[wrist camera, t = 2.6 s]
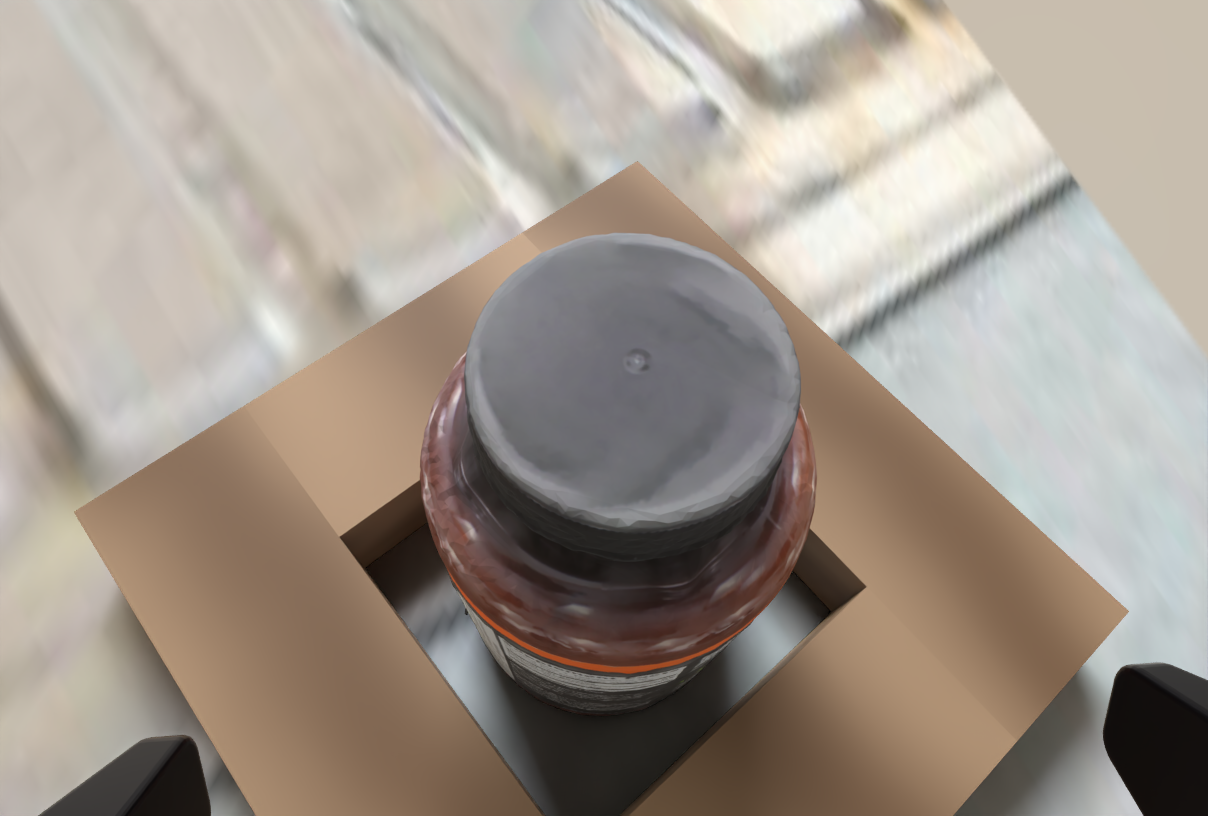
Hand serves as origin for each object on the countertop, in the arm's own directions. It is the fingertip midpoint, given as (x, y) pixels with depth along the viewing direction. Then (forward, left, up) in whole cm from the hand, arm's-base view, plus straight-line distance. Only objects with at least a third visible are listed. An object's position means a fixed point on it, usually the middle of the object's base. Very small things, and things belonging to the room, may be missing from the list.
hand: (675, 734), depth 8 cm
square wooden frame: (+2, +3, -11) cm, 12 cm away
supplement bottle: (+2, +3, -11) cm, 12 cm away
